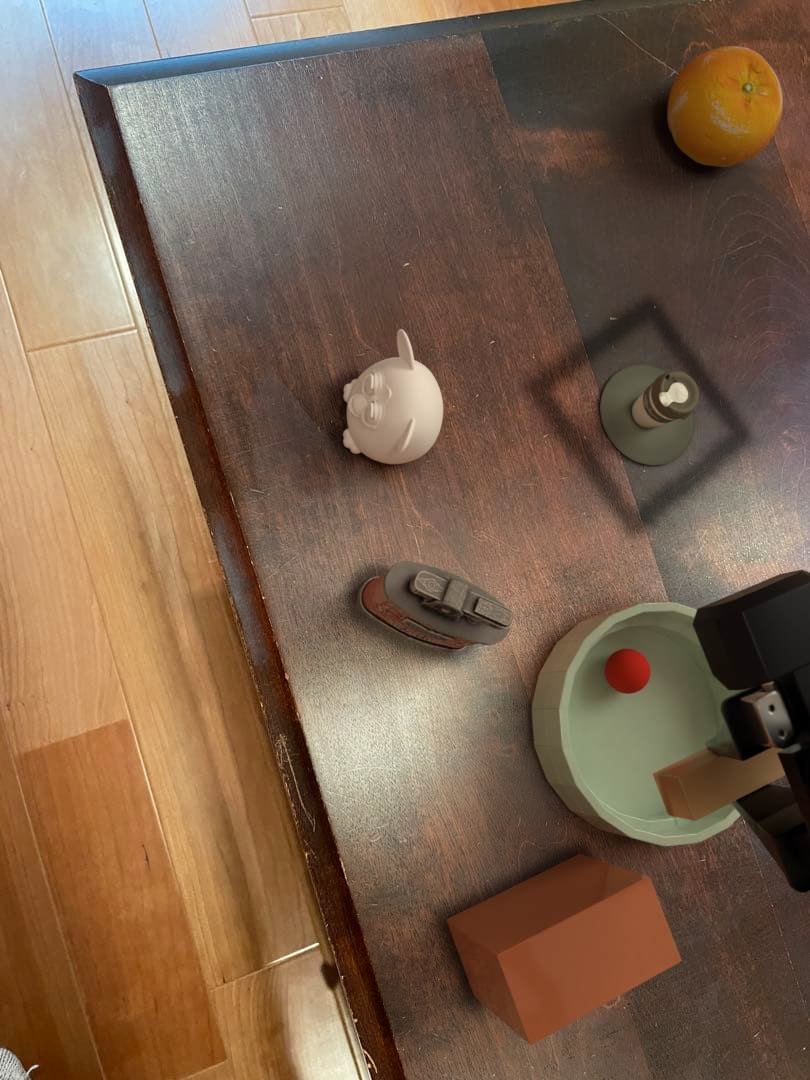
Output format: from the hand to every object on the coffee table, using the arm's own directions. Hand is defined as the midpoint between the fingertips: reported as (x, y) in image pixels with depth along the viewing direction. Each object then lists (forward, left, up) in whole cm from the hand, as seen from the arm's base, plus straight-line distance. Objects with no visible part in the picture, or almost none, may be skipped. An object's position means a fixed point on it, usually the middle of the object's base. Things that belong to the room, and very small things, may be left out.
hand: (722, 766), depth 51 cm
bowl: (+2, -2, -13) cm, 13 cm away
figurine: (+27, +7, -13) cm, 30 cm away
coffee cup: (+22, -12, -13) cm, 28 cm away
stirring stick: (0, 0, 0) cm, 0 cm away
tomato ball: (+5, -2, -11) cm, 12 cm away
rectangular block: (-7, +10, -13) cm, 18 cm away
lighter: (+14, +10, -13) cm, 21 cm away
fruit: (+42, -27, -13) cm, 51 cm away
